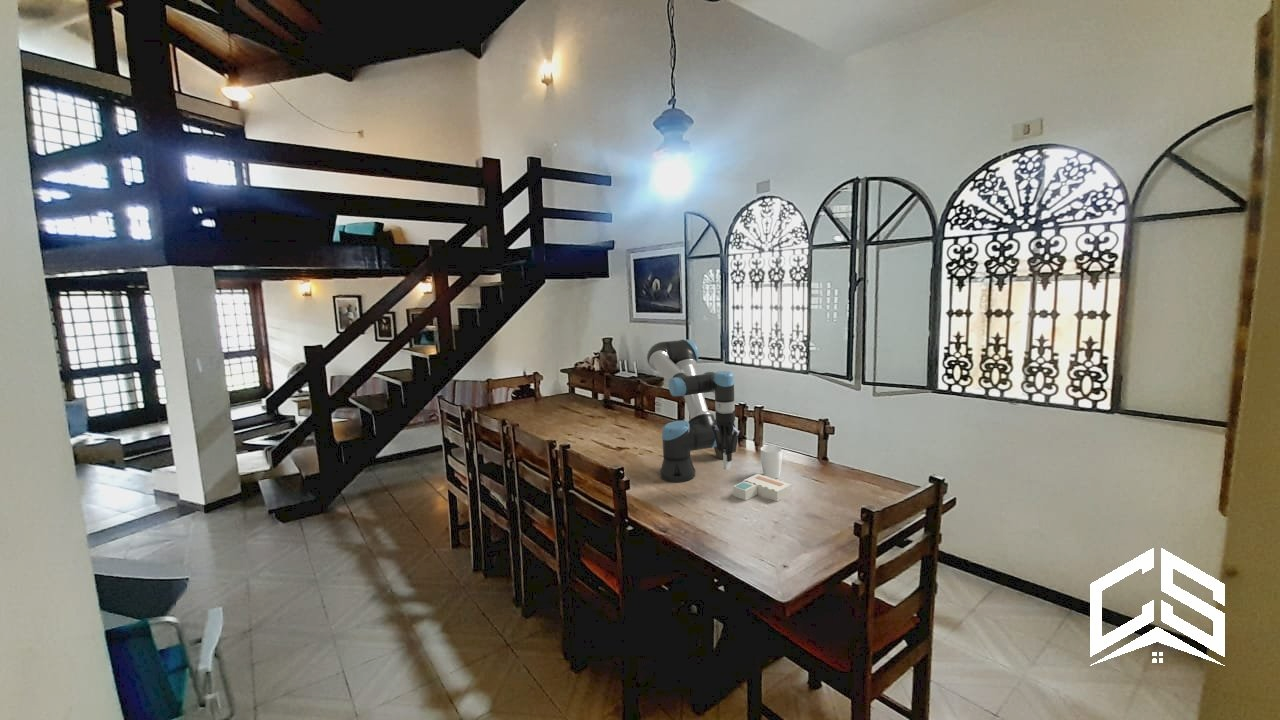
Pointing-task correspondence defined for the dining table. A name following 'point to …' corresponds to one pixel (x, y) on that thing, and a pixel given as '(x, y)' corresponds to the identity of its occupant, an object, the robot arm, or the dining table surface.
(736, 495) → the white teal-topped box
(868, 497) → the dining table surface
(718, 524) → the dining table surface
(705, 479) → the dining table surface
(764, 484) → the block
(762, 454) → the cup
